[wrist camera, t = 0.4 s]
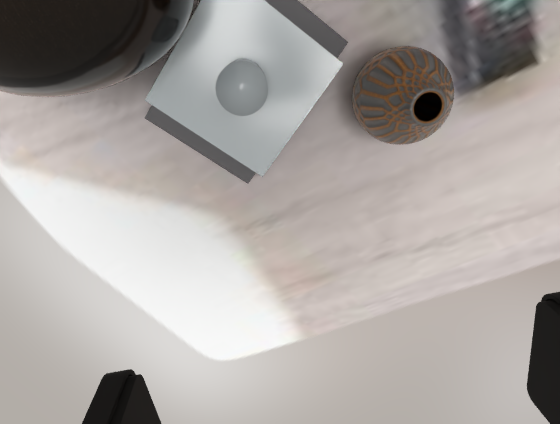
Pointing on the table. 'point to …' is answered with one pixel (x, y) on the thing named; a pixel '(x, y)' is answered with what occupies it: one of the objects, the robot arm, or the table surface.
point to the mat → (308, 23)
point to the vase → (403, 95)
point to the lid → (243, 79)
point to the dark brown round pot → (83, 42)
